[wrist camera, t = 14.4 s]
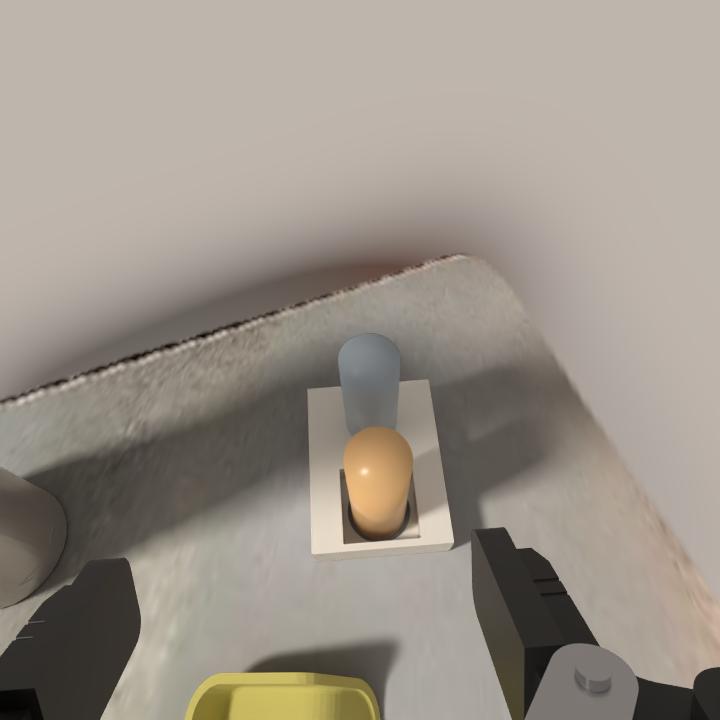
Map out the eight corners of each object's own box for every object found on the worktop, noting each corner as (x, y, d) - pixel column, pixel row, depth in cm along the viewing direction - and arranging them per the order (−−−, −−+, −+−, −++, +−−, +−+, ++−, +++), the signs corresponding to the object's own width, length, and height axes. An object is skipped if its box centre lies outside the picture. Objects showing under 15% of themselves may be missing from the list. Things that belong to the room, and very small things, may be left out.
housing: (449, 550, 40) (475, 506, 29) (316, 561, 40) (292, 522, 29) (425, 395, 46) (440, 311, 35) (311, 404, 46) (290, 323, 35)
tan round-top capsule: (346, 531, 40) (334, 483, 30) (360, 481, 42) (354, 419, 32) (397, 545, 39) (403, 502, 29) (410, 494, 41) (420, 436, 31)
